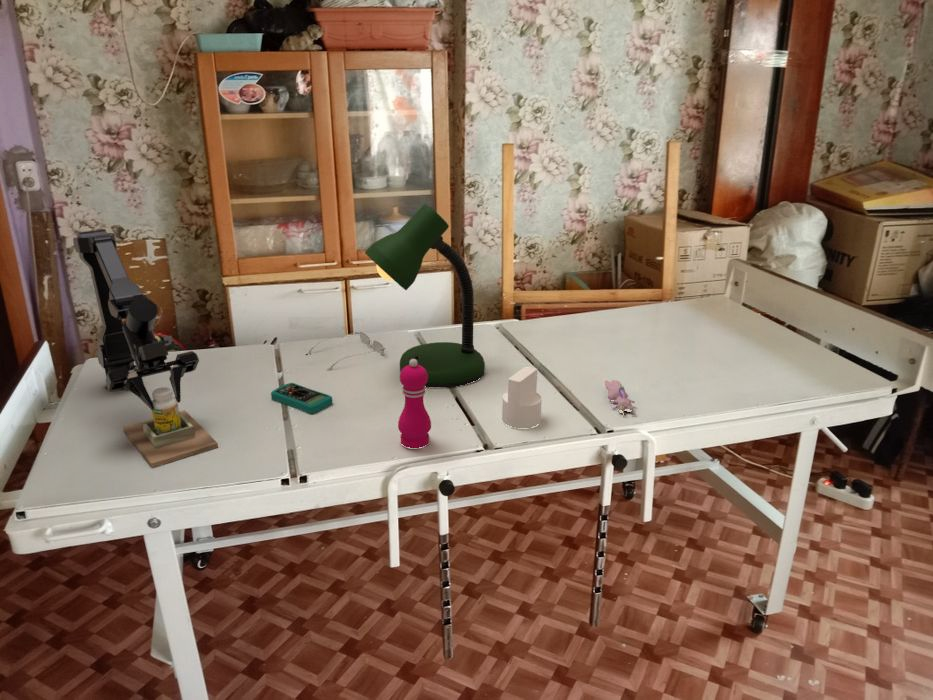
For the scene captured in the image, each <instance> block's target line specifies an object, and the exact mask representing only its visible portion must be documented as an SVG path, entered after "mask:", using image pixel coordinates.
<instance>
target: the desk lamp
mask: <svg viewBox="0 0 933 700" xmlns="http://www.w3.org/2000/svg"><path fill="white" fill-rule="evenodd" d="M449 227H450V225H449V224H448V223H447V221H446V220H445V219H444V218H443V217H442V216H441V215H440V214H439V213H438V212H437V211H436V210H435V209H433V208H432V207H431V206H430V205H429V204H427V203H426V204H425V203H424V204H422V205H421V207H420V208H419V209H418V210H417V211H416V212H415V213H414V214H413V216H412V217H410V219H409V220H408V221H407V222H406V223H404V224H403V226H402V227H400V229H398V230H397V231H395V232H393V233H391V234H388V235H385V236H384V237H382V238H379V240H376V241H375V242H373V243H372V244H371V245H370V246H369V247H368V248H366V250H365V251H364V254H365V255H366V256H367V257H368V258H369V259H370V260H371V261H372V262H373V263H375V265H376V271H377V273H378V275H379V276H380V277H381V278H382V279H385V280H387V281H394V282H395V283H397V284H398V285H399V286H400V287H401V288H402V289H404V290H405V291H407V290H408V289H409V288H410V287H411V286H412V285H413V284H414V283H415V281H416V279H417V277H418V275H419V272H420V271H421V268H422V264H423V260H424V257H425V256H426V254H427V253H428V252H429V251H430V249H432V250H436V251H437V252H438V253H439V254H440V255H441V256H443V257H444V258H445V259H447V261H448V262H449V264H451V265H452V267H453V268H454V271H455V273H456V276H457V279H458V280H459V285H460V289H461V299H462V301H461V305H462V306H461V307H462V310H461V311H462V312H461V313H462V315H461V316H462V317H461V327H462V328H461V343H457V342H452V341H451V342H447V341H446V342H445V341H439V342H437V341H436V342H430V343H424V344H423V343H422V344H419V345H416V346H413V347H410V348H408V349H407V350H405V352H403V353H402V354H401V357H400V359H399V374H400V373H401V370H402V369H403V368H404V367H405V366H408V365H410V364H409V362H410V360H411V359H416V360H417V362H418V364H417V365H420V366H422V367H423V368H424V369H425V370H426V371H427V374H428V380H427V383H426V384H425V386H426V388H429V387H447V388H446V389H449V388H450V389H451V388H457V387H456V386H458V387H461V386H460V385H464V386H466V385H465V384H467V383H471V382H473V381H476V380H478V379H479V378H481V377H482V376H484V375H485V371H486V370H485V369H486V368H485V367H486V365H485V360H484V357H483V355H482V354H481V353H480V352H479V351H478V350H477V349H475V345H474V312H475V311H474V310H475V309H474V307H475V304H474V303H475V299H474V297H475V296H474V288H473V287H474V286H473V282H472V279H471V275H470V271H469V270H468V268H467V267H468V266H467V265H466V263H465V260H464V258H462V257H461V254H459V253H458V252H457V250H455V249H454V248H453V246H450V245H449V243H447V242H445V241H444V237H443V234H444V233H445V232H446V231H447V230H448V229H449ZM482 378H483V377H482ZM482 378H481V379H482ZM479 380H480V379H479ZM479 380H478V381H479ZM476 382H477V381H476ZM473 383H474V382H473ZM471 384H472V383H471ZM467 385H468V384H467Z"/></svg>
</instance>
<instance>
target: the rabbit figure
mask: <svg viewBox="0 0 933 700" xmlns="http://www.w3.org/2000/svg"><path fill="white" fill-rule="evenodd" d="M604 385H605V388H606V390H607V397H606V398H608V400H609V399H610V400H609V401H610V402H609V404H610V405H613V404H617V403H618V404H617V410H618V409H619V410H622V411H623V413H624V414H625V412H624V410H625V409H630V410H633V411H632V413H633V412H634V413H635V410H634V406H633V405H632V404H635V403H636V400H632V399H628V396H629V395H628V393H627V392H626V390H625V387H624V386H623V385H622V383H621V382H620V381H619V380H616V379H615V380H614V379H612V380H611V382H610V381H609V380H605V381H604ZM611 400H614V401H611ZM623 413H622V414H623Z"/></svg>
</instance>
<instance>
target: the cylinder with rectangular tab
mask: <svg viewBox="0 0 933 700" xmlns="http://www.w3.org/2000/svg"><path fill="white" fill-rule="evenodd" d="M537 384H538V368H535V367H532V366H526V365H525V366H524V367H522V368H521V369H520V370H519V371H517V372H516V373H514V374H513V375H512V376H510V377H509V378H508V383H507V387H508V388H507V391H506V392H504V393H503V395H502V405H501V406H502V408H501V409H502V410H501V415H502V416H501V421H502V420H503V422H504V423H505V424H507V425H509V426H512V427H516V428H531V427H533V426H536V425H537V424H539V423H540V424H541V421H540V420H542V419H541V417H542V416H541V415H542V401H543V399H542V395H540V393H538V392H537V387H538V385H537ZM503 422H502V423H503ZM504 423H503V424H504ZM505 424H504V425H505ZM540 424H539V425H540Z"/></svg>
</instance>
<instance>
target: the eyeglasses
mask: <svg viewBox="0 0 933 700" xmlns="http://www.w3.org/2000/svg"><path fill="white" fill-rule="evenodd" d="M358 334H359V339H360V342H361V344H363V343H364V345H365V344H366V345H367V346H366V345H365V346H366V347H368V348H369V346H370V344H372V345H371V346H372V348H373V349H374V350H371V351H368V352H366V354H368V353H371V352H376V353H377V352H378V353H377V354H379V353H380V354H379V355H380V356H383V354H384V352H385V350H386V347H385V346H384V344H383V343H382V342H380V341H379V340H376V339H375V340H374V339H373V338H372V339H371V337H370V336H369V335H368V334H367V333H366V332H364V331H356V332H353V333H352V335H358ZM348 335H351V333H348V334H347V336H348ZM343 336H344V337H345V336H346V334H344V335H342V337H343ZM339 337H341V335H338V336H333V339H335V338H339ZM330 339H332V337H330V338H326V339H322V340H321V341H318V342H317V343H315V344H314V345H313V346H311V347H310V348H309V349H308V351H307V352H306V353H305V354H309V353H310V354H311V352H312V350H313V349H314V348H315V347H316V346H317V345H318V344H320V343H322V342H324V341H327V340H328V341H329V340H330ZM371 342H372V343H371ZM310 354H309V355H310ZM363 354H365V352H363V353H362V352H361V353H359V354H357V356H360V355H363ZM355 356H356V354H354V355H347V356H344V357H342V358H340V359H338V360H336V361H335V362H334V363H332V364H331V365H330V366H328V368H326V370H327V371H326V372H329V371H332V369H333V367H334V366H335V365H337V363H339V362H340V361H342V360H344V359H346V358H350V357H355ZM328 370H329V371H328Z"/></svg>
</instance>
